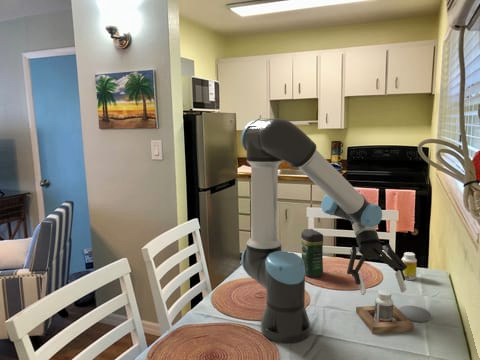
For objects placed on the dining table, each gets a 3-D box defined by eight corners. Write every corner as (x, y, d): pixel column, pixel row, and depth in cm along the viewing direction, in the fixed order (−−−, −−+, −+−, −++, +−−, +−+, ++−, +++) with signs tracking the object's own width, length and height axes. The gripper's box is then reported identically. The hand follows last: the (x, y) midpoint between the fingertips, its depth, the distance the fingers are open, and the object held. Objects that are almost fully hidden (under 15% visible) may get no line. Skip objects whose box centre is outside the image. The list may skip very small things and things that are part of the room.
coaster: (407, 323, 122) (407, 321, 122) (392, 307, 132) (392, 306, 132) (437, 320, 123) (437, 319, 123) (420, 306, 132) (420, 304, 132)
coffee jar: (326, 276, 159) (326, 232, 156) (308, 278, 157) (309, 234, 154) (314, 267, 168) (315, 226, 165) (298, 270, 166) (298, 228, 163)
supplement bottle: (418, 279, 154) (420, 255, 152) (406, 281, 153) (407, 256, 151) (409, 274, 159) (411, 250, 158) (397, 276, 158) (399, 252, 156)
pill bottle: (396, 322, 122) (397, 293, 121) (385, 327, 119) (386, 297, 118) (381, 315, 127) (382, 287, 125) (371, 320, 124) (372, 291, 122)
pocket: (372, 333, 116) (372, 327, 116) (355, 312, 129) (356, 306, 129) (413, 330, 117) (414, 324, 117) (393, 310, 130) (393, 304, 130)
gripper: (395, 237, 142) (415, 293, 130) (329, 240, 140) (343, 298, 127) (403, 227, 136) (425, 285, 124) (334, 230, 133) (350, 290, 121)
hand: (384, 292), depth 125 cm, fingers open, 13 cm apart
